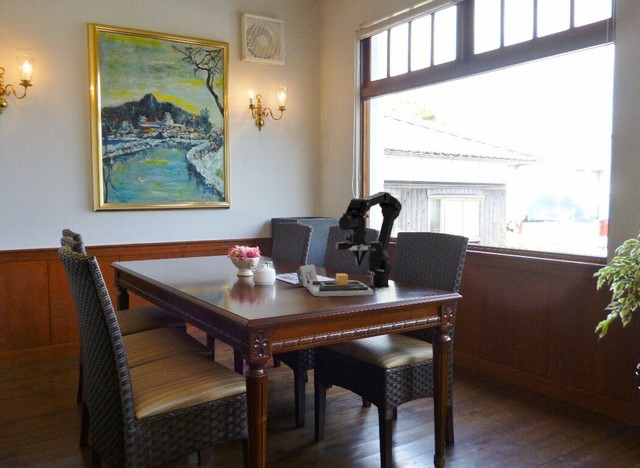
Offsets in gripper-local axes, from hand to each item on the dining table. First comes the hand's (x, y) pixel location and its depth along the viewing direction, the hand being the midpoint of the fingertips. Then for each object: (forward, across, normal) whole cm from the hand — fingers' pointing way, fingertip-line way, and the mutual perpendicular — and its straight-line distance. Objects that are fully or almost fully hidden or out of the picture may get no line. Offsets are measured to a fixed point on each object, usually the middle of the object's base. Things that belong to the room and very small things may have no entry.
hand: (358, 266), depth 235 cm
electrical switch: (+11, +19, -17) cm, 28 cm away
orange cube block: (+8, +7, 0) cm, 11 cm away
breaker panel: (+10, +8, 0) cm, 13 cm away
